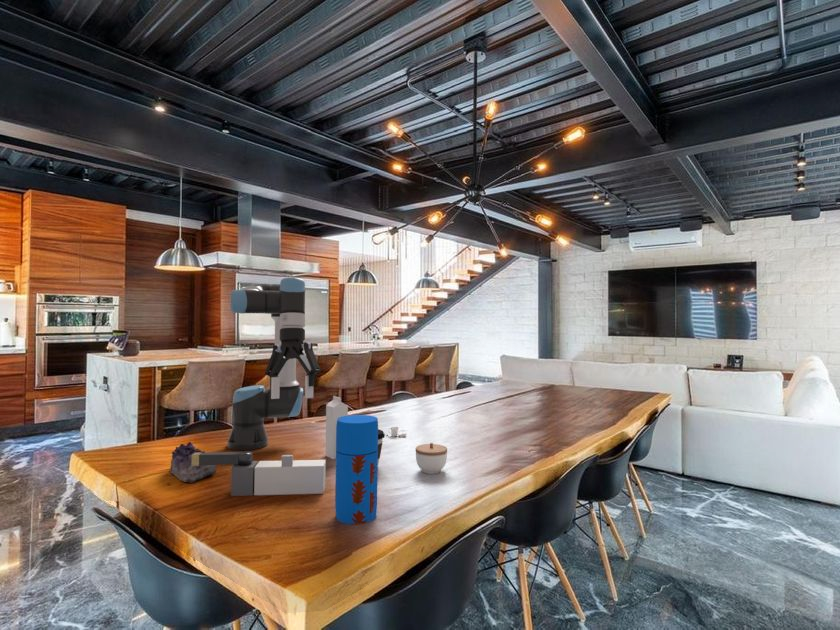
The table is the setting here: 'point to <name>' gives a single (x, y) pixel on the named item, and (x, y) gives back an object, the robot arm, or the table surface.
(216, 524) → the table surface
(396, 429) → the teacup and saucer
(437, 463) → the lidded jar
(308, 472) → the white box with knob
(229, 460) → the bar
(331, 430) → the milk
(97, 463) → the table surface
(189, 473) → the geode
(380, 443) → the coffee cup
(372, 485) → the thermos
